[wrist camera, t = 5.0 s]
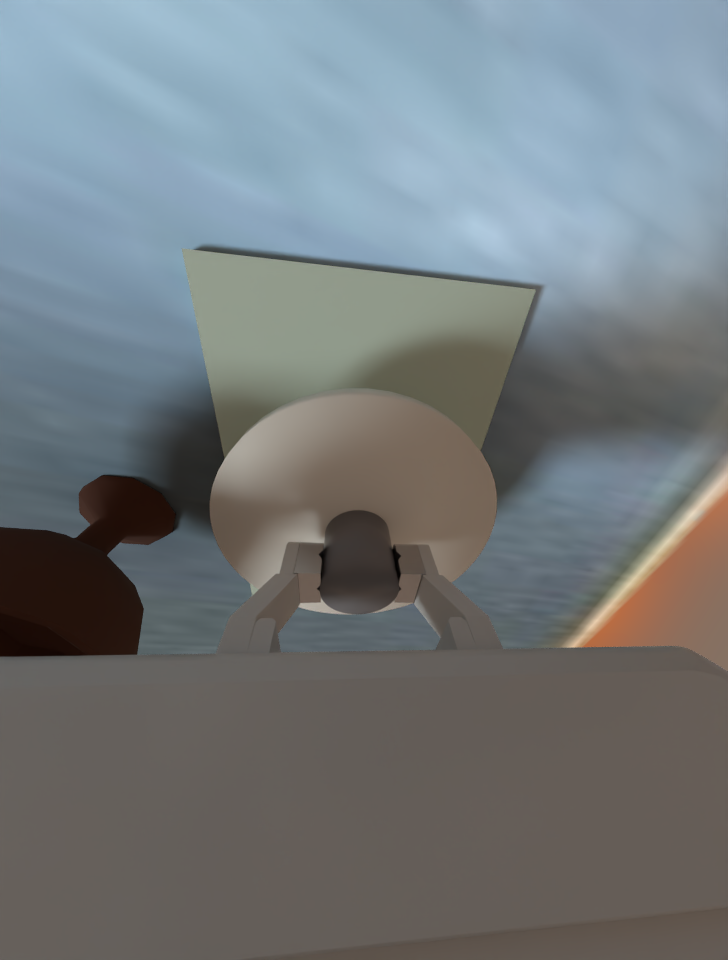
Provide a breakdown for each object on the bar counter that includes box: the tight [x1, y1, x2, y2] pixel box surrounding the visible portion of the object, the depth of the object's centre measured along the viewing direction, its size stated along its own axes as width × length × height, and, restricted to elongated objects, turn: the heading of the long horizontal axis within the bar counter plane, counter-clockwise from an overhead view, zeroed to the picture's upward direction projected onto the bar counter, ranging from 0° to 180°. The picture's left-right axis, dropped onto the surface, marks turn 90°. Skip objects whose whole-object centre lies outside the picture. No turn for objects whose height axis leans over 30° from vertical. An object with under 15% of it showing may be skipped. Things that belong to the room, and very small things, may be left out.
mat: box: [182, 249, 536, 595], centre depth 18 cm, size 22×15×1 cm
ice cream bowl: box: [0, 475, 176, 657], centre depth 12 cm, size 11×11×15 cm
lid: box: [210, 388, 497, 614], centre depth 12 cm, size 13×13×4 cm
